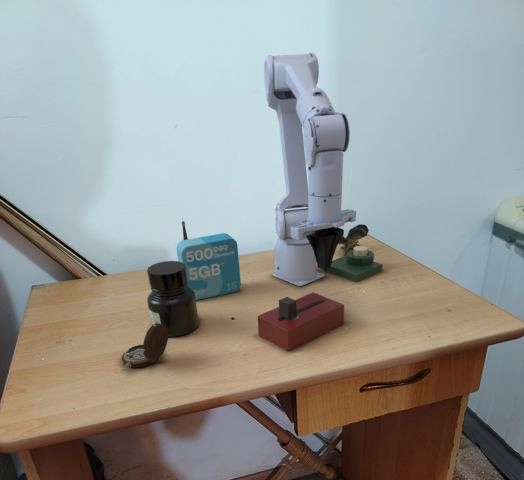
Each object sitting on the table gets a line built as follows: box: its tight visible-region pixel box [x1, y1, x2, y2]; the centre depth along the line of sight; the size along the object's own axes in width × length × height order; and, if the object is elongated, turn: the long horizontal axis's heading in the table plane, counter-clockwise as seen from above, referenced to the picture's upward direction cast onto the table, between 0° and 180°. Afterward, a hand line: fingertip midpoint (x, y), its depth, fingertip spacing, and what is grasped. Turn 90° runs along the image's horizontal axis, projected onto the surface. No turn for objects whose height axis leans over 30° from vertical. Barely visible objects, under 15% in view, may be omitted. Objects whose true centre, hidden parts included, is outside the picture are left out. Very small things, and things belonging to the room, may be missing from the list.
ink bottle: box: [146, 260, 200, 337], centre depth 87 cm, size 10×9×12 cm
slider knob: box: [278, 296, 297, 320], centre depth 82 cm, size 2×2×3 cm
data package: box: [176, 232, 242, 301], centre depth 100 cm, size 12×4×12 cm, turn 112°
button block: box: [323, 249, 383, 283], centre depth 109 cm, size 10×10×4 cm
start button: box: [353, 245, 369, 257], centre depth 109 cm, size 3×3×2 cm
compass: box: [119, 323, 169, 371], centre depth 78 cm, size 8×8×7 cm
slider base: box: [257, 292, 345, 352], centre depth 85 cm, size 8×14×4 cm, turn 130°
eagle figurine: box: [338, 223, 370, 256], centre depth 119 cm, size 8×7×9 cm
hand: (323, 267), depth 88 cm, fingers closed
